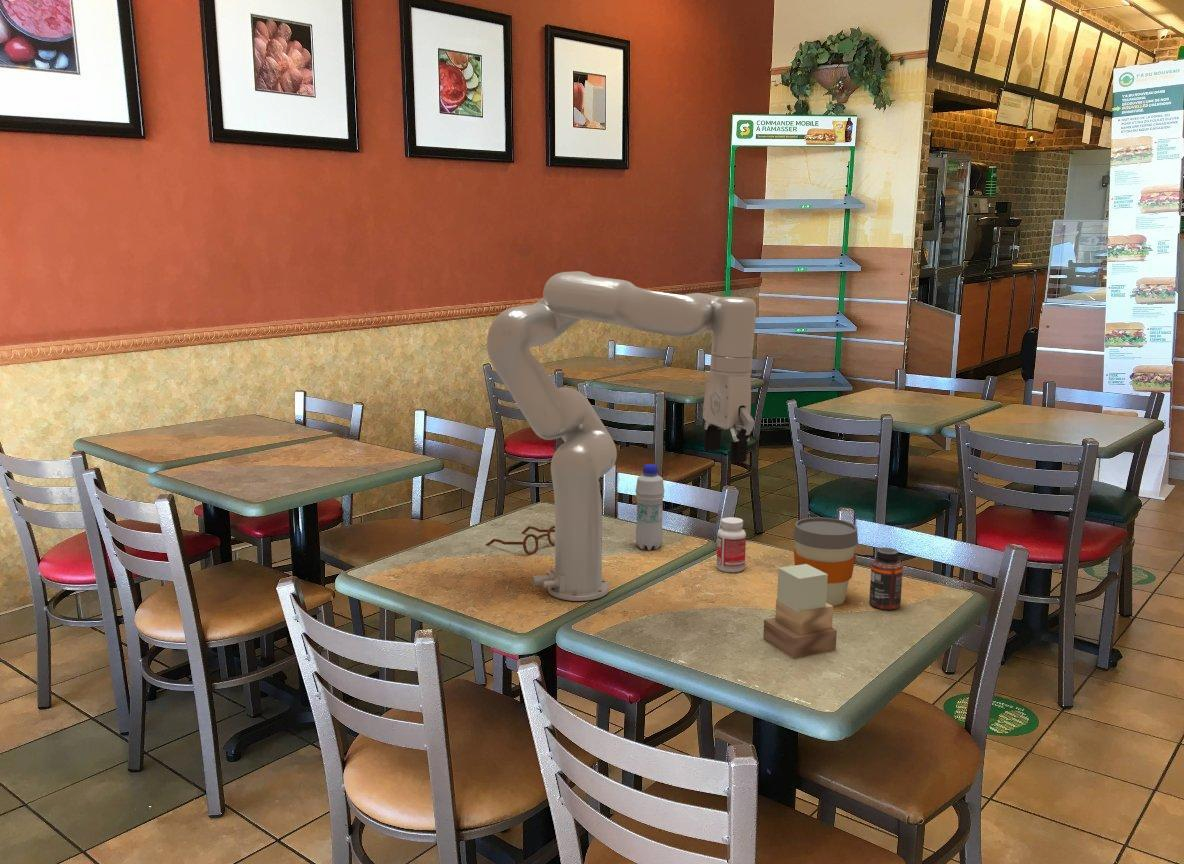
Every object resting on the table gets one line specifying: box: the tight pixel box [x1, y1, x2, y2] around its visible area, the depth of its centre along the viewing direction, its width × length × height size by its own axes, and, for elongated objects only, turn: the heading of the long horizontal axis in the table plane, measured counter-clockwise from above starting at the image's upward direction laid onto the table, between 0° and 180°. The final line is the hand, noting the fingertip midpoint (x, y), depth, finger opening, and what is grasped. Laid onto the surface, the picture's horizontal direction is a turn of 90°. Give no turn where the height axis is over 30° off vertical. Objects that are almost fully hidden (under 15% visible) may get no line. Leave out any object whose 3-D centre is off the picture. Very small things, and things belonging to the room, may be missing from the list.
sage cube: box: [776, 564, 828, 612], centre depth 165 cm, size 6×6×6 cm
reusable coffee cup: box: [792, 517, 859, 607], centre depth 188 cm, size 13×13×15 cm
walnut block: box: [762, 617, 838, 659], centre depth 167 cm, size 9×9×4 cm
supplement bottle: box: [868, 547, 904, 611], centre depth 184 cm, size 6×6×11 cm
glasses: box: [485, 525, 555, 556], centre depth 222 cm, size 13×13×5 cm
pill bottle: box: [716, 516, 747, 573], centre depth 205 cm, size 6×6×11 cm
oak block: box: [774, 598, 834, 635], centre depth 166 cm, size 7×7×4 cm
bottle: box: [635, 463, 665, 551], centre depth 218 cm, size 7×7×20 cm
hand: (724, 455), depth 176 cm, fingers open, 9 cm apart
